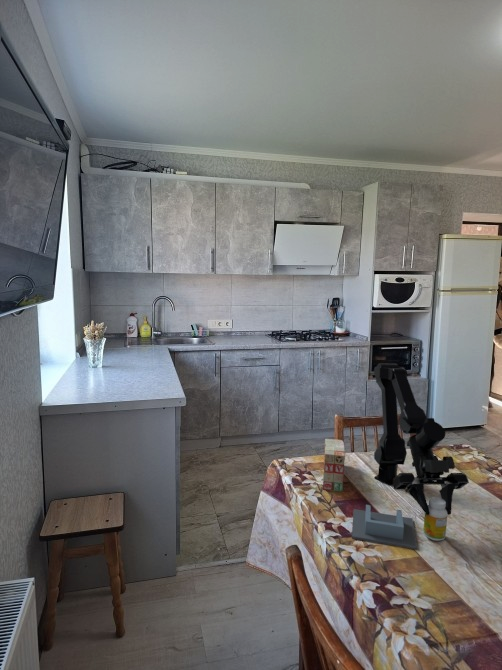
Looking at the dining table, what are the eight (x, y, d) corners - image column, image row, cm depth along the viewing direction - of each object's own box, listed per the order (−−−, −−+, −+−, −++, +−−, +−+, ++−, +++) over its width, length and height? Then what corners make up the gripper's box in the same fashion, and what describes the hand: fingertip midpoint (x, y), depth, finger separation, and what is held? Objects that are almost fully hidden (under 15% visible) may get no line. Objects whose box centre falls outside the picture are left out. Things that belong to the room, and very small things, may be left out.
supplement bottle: (419, 529, 117) (422, 495, 116) (438, 528, 118) (441, 495, 116) (429, 541, 112) (432, 506, 110) (449, 541, 112) (452, 505, 111)
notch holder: (353, 510, 126) (354, 497, 126) (412, 520, 122) (413, 506, 122) (351, 538, 113) (352, 523, 112) (417, 549, 109) (418, 534, 108)
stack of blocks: (323, 462, 160) (325, 430, 158) (341, 464, 158) (343, 431, 157) (322, 490, 139) (324, 453, 137) (342, 492, 138) (345, 455, 136)
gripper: (400, 444, 115) (415, 506, 105) (468, 444, 116) (489, 505, 107) (386, 460, 124) (399, 518, 114) (450, 459, 125) (468, 517, 116)
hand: (438, 514), depth 112 cm, fingers closed on supplement bottle, 5 cm apart
